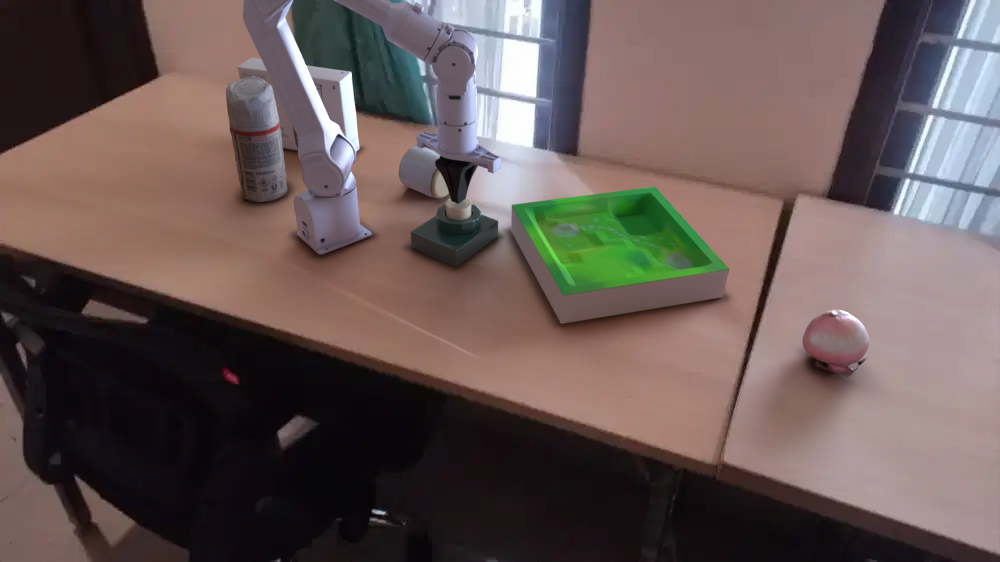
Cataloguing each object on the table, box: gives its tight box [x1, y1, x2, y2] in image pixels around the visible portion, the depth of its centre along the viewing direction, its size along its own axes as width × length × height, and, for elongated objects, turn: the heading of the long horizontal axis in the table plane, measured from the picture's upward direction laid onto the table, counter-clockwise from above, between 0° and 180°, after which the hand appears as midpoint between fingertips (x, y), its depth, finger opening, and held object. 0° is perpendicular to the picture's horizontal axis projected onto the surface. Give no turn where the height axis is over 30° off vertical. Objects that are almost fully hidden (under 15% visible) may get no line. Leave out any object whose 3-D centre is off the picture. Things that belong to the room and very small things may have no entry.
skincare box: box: [237, 57, 360, 152], centre depth 146 cm, size 21×6×16 cm, turn 73°
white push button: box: [445, 197, 472, 220], centre depth 121 cm, size 4×4×2 cm
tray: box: [510, 186, 730, 325], centre depth 118 cm, size 25×25×5 cm
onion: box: [802, 309, 870, 378], centre depth 99 cm, size 8×8×7 cm
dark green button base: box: [410, 203, 499, 268], centre depth 122 cm, size 11×9×5 cm
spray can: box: [225, 76, 289, 203], centre depth 130 cm, size 8×8×20 cm
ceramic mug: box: [398, 145, 449, 200], centre depth 136 cm, size 11×8×8 cm
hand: (458, 199), depth 120 cm, fingers closed
